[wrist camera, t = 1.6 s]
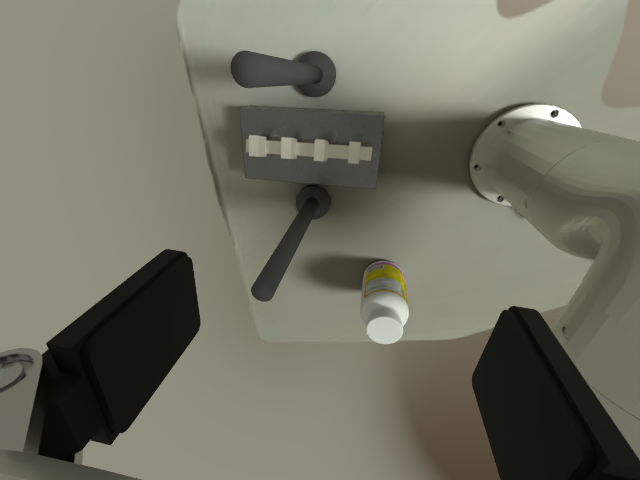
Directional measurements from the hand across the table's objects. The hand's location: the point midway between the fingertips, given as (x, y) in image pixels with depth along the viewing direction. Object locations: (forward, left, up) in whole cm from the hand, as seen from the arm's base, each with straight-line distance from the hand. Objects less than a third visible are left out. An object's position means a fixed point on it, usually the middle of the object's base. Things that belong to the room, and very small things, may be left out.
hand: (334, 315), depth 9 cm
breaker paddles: (+4, +7, -32) cm, 33 cm away
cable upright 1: (+10, +1, -36) cm, 38 cm away
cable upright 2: (-2, +13, -36) cm, 39 cm away
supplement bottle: (-19, +13, -37) cm, 43 cm away
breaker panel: (+4, +7, -36) cm, 37 cm away
